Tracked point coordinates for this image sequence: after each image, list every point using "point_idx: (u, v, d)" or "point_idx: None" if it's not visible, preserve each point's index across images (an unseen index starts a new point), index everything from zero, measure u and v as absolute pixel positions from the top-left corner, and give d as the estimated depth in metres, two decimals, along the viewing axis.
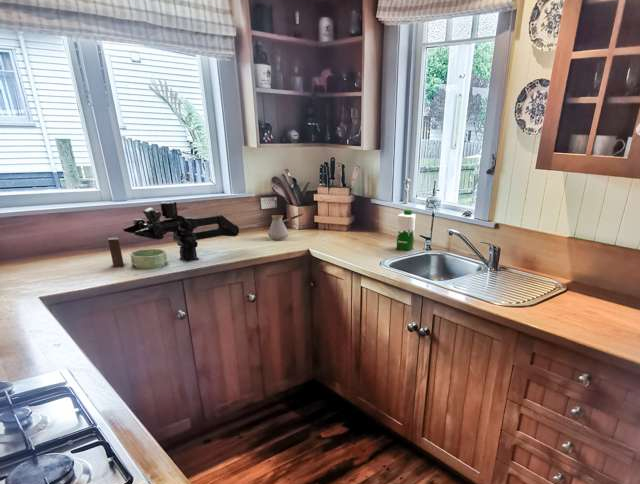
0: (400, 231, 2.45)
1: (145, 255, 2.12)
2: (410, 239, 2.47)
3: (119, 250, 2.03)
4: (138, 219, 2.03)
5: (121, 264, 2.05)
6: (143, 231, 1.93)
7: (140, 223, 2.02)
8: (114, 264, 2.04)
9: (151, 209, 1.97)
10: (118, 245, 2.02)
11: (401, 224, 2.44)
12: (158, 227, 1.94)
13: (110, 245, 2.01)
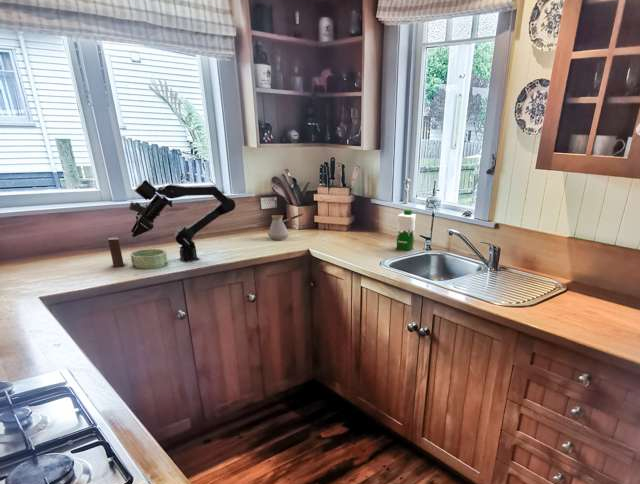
0: (400, 231, 2.45)
1: (145, 255, 2.12)
2: (410, 239, 2.47)
3: (119, 250, 2.03)
4: (137, 212, 2.08)
5: (121, 264, 2.05)
6: (136, 230, 1.99)
7: (140, 215, 2.08)
8: (114, 264, 2.04)
9: (130, 203, 1.98)
10: (118, 245, 2.02)
11: (401, 224, 2.44)
12: (141, 221, 1.96)
13: (110, 245, 2.01)
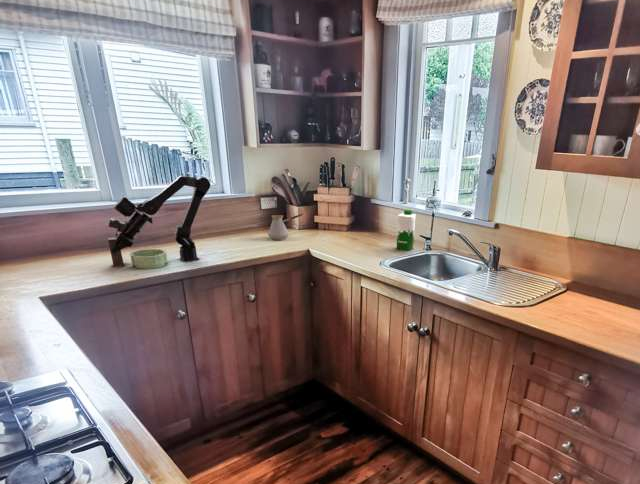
0: (400, 231, 2.45)
1: (145, 255, 2.12)
2: (410, 239, 2.47)
3: (119, 250, 2.03)
4: (117, 229, 2.07)
5: (121, 264, 2.05)
6: (115, 246, 2.00)
7: (120, 233, 2.05)
8: (114, 264, 2.04)
9: (109, 221, 1.97)
10: None
11: (401, 224, 2.44)
12: (120, 238, 1.95)
13: (110, 245, 2.00)
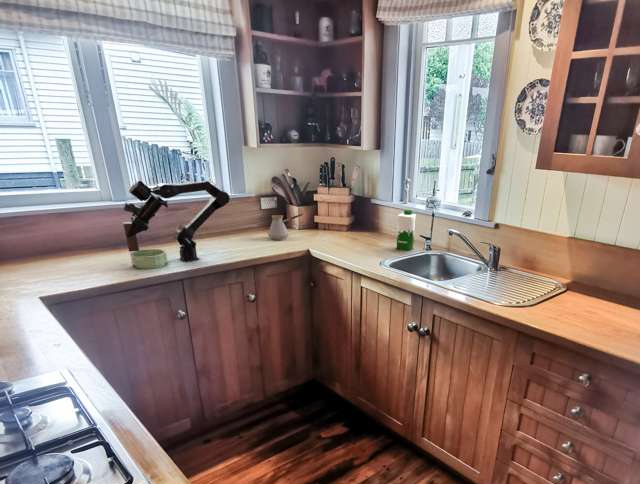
0: (400, 231, 2.45)
1: (145, 255, 2.12)
2: (410, 239, 2.47)
3: None
4: (132, 213, 2.06)
5: (136, 249, 2.04)
6: (131, 230, 1.99)
7: None
8: (129, 249, 2.03)
9: (125, 204, 1.96)
10: None
11: (401, 224, 2.44)
12: (135, 222, 1.93)
13: (125, 229, 1.99)
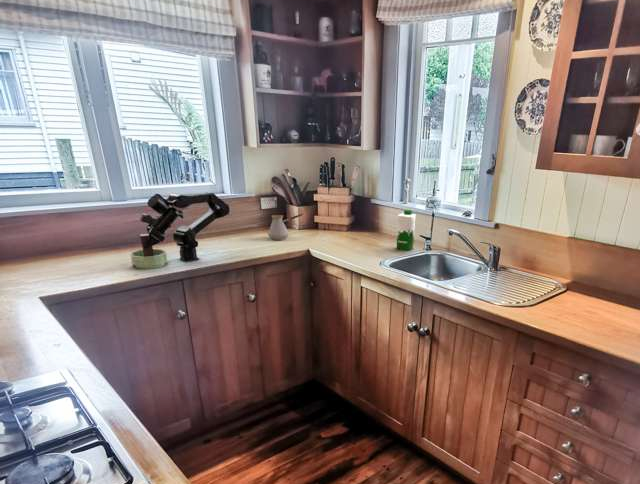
0: (400, 231, 2.45)
1: None
2: (410, 239, 2.47)
3: (151, 246, 2.05)
4: (148, 224, 2.09)
5: None
6: (147, 242, 2.00)
7: (151, 227, 2.08)
8: None
9: (142, 215, 1.99)
10: None
11: (401, 224, 2.44)
12: (152, 233, 1.96)
13: (142, 241, 2.02)
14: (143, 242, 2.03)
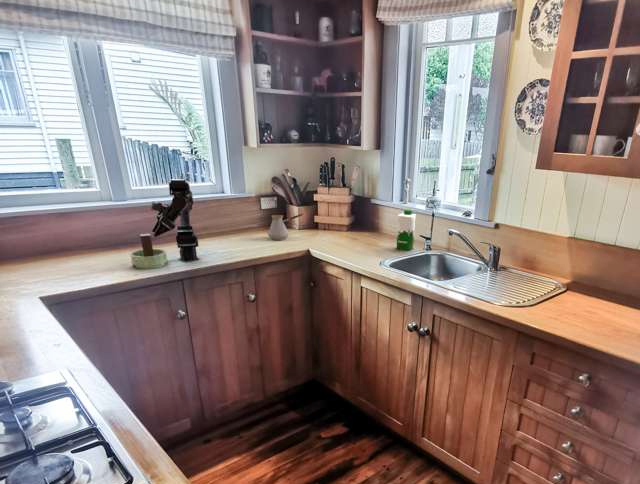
0: (400, 231, 2.45)
1: None
2: (410, 239, 2.47)
3: (151, 246, 2.05)
4: (158, 212, 2.09)
5: None
6: (158, 230, 2.00)
7: (161, 215, 2.09)
8: None
9: (152, 203, 1.99)
10: (150, 241, 2.04)
11: (401, 224, 2.44)
12: (163, 220, 1.96)
13: (142, 241, 2.02)
14: (143, 242, 2.03)
